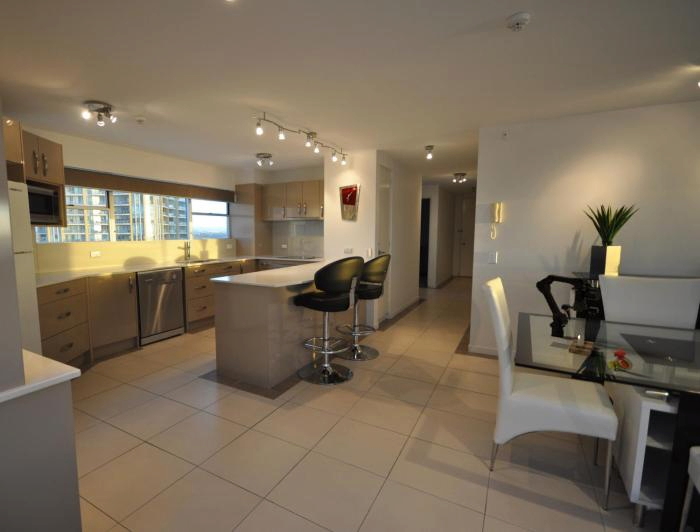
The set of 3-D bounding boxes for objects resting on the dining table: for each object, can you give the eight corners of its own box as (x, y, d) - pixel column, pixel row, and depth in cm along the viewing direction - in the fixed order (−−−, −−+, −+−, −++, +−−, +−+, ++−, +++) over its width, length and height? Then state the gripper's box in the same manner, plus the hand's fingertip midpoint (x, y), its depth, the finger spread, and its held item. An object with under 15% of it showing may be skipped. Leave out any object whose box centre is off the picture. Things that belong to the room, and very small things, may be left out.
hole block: (568, 352, 194) (568, 347, 194) (574, 343, 209) (574, 339, 208) (589, 356, 187) (589, 351, 187) (593, 347, 202) (594, 342, 202)
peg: (576, 352, 194) (577, 335, 193) (577, 351, 196) (578, 334, 195) (582, 353, 192) (583, 336, 191) (583, 352, 194) (584, 335, 193)
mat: (549, 346, 205) (549, 346, 205) (553, 342, 212) (553, 341, 212) (566, 349, 199) (567, 349, 199) (569, 345, 206) (570, 344, 206)
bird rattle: (627, 374, 170) (607, 362, 176) (640, 357, 165) (619, 345, 171) (624, 377, 166) (604, 365, 172) (637, 360, 161) (616, 348, 167)
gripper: (560, 297, 209) (558, 322, 211) (597, 301, 197) (595, 327, 198) (563, 295, 217) (562, 318, 219) (599, 298, 205) (597, 323, 207)
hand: (578, 321), depth 210 cm, fingers open, 9 cm apart
